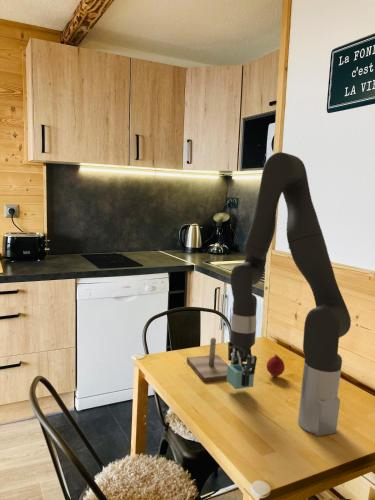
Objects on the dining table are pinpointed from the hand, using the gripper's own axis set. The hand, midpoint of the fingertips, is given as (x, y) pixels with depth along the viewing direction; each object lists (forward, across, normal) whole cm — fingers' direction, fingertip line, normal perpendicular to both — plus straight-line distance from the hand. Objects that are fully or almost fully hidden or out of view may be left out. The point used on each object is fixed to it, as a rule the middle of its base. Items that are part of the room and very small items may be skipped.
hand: (239, 380), depth 124 cm
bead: (+1, 0, 0) cm, 1 cm away
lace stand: (+3, +17, +2) cm, 17 cm away
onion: (+4, +6, -17) cm, 19 cm away
